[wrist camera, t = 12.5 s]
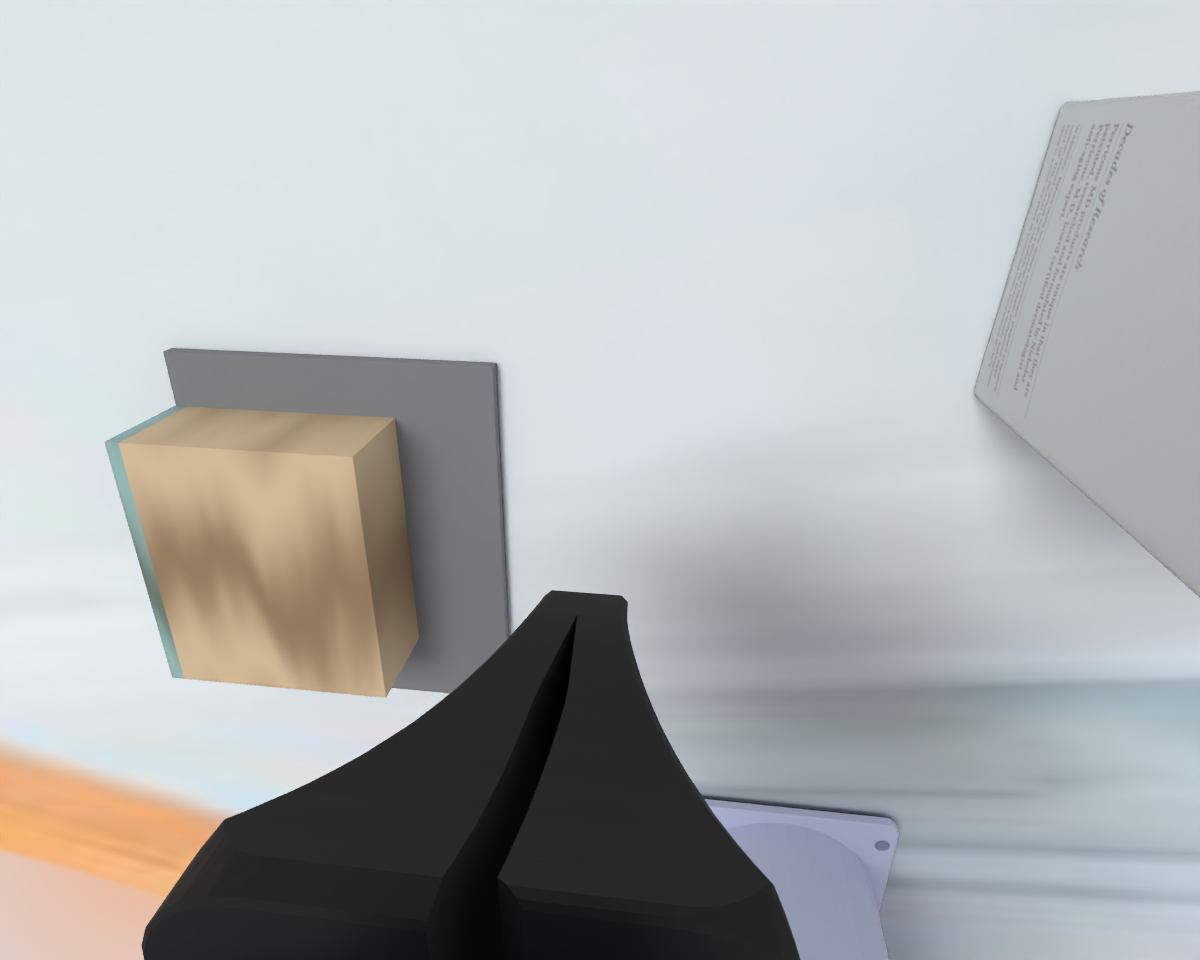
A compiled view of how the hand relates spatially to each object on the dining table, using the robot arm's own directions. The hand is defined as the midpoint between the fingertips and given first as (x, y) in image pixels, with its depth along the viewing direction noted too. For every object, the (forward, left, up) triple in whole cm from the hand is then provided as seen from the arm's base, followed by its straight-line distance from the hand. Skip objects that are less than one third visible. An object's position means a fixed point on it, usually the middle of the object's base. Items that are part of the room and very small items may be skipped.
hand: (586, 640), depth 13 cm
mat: (-4, +9, -10) cm, 14 cm away
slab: (-4, +7, -8) cm, 11 cm away
